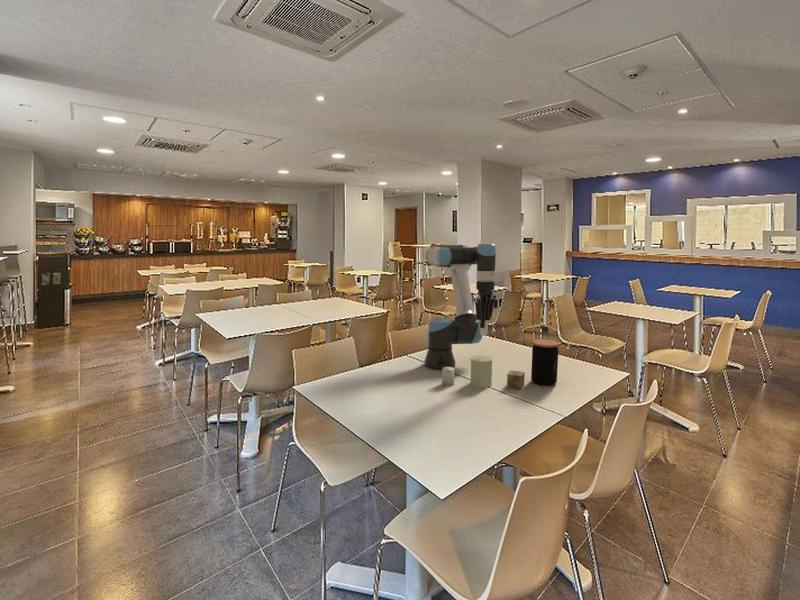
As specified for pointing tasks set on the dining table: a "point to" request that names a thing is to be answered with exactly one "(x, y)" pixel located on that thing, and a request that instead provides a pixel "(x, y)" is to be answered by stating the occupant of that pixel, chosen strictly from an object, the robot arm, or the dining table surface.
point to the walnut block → (515, 379)
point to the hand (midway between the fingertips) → (483, 334)
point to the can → (481, 371)
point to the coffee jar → (544, 362)
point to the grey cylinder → (448, 376)
